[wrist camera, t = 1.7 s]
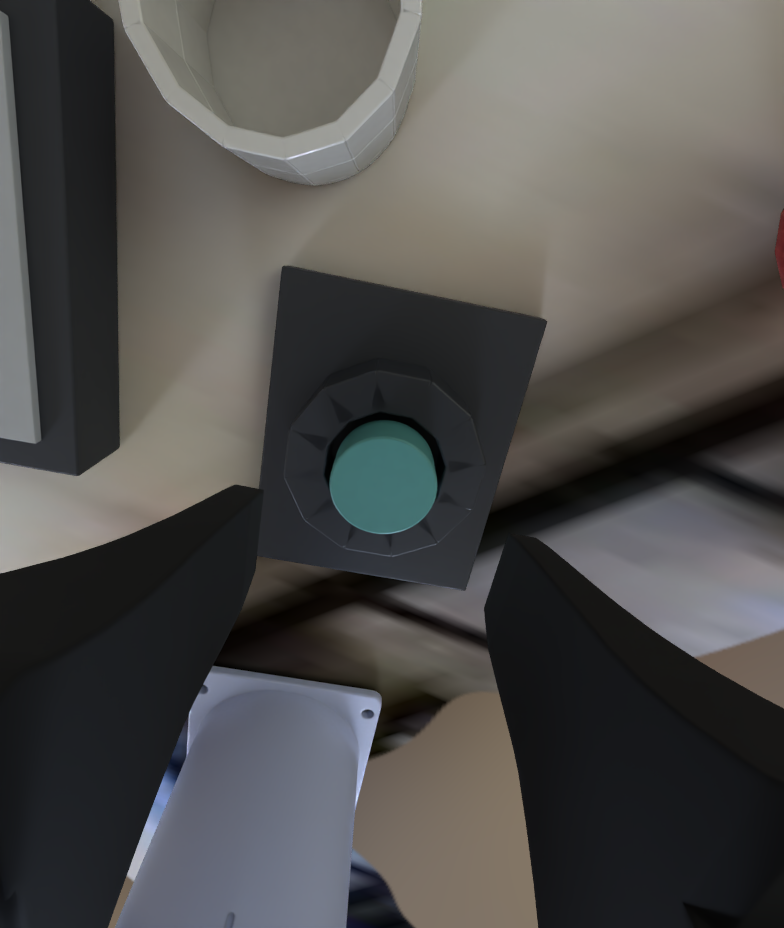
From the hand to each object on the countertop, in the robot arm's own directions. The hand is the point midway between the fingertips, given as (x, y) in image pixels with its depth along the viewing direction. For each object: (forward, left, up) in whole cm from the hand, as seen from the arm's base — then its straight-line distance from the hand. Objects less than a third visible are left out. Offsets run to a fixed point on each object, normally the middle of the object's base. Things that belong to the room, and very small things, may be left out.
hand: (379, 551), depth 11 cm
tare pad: (0, 0, -7) cm, 7 cm away
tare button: (0, 0, -5) cm, 5 cm away
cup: (+10, +4, -7) cm, 13 cm away
